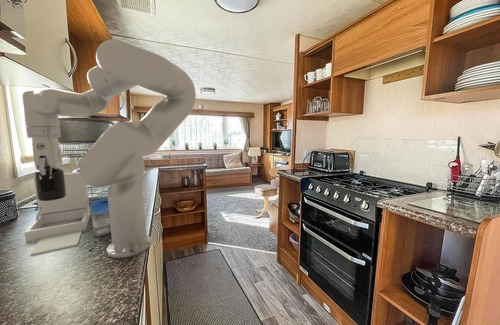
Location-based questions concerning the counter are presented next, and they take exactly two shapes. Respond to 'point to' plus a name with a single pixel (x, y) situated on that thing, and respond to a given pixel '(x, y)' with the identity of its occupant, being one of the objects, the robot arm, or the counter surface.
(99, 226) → the label tape box
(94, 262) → the counter surface
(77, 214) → the white open box
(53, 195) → the supplement bottle
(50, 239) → the mat
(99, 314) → the counter surface
